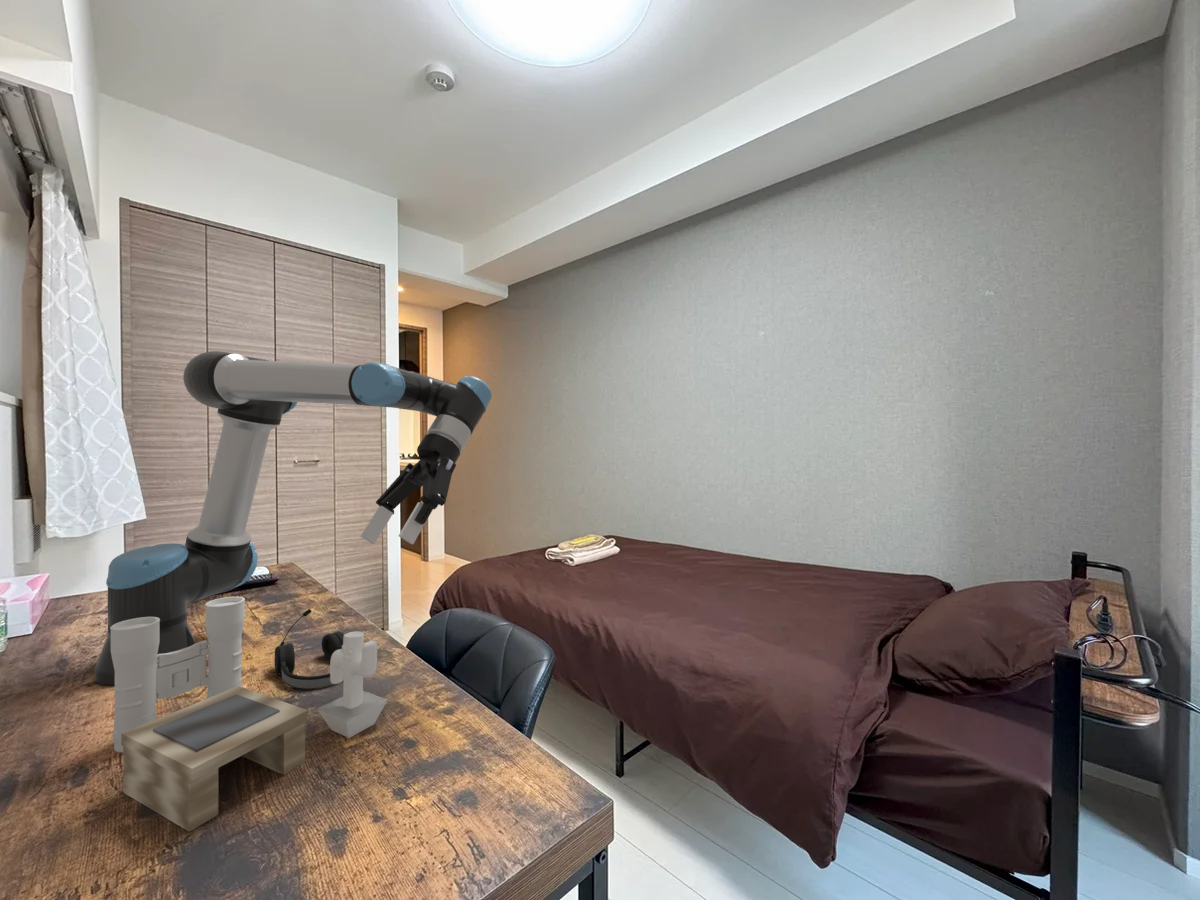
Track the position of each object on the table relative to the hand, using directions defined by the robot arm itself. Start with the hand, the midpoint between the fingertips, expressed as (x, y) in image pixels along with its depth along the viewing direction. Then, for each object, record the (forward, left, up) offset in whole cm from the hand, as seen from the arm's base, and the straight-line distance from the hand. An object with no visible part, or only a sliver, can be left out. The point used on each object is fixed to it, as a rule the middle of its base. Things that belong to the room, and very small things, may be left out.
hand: (385, 540), depth 87 cm
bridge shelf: (-4, -24, -28) cm, 37 cm away
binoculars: (-23, -19, -28) cm, 41 cm away
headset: (-22, +3, -29) cm, 36 cm away
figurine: (+2, -8, -28) cm, 30 cm away
